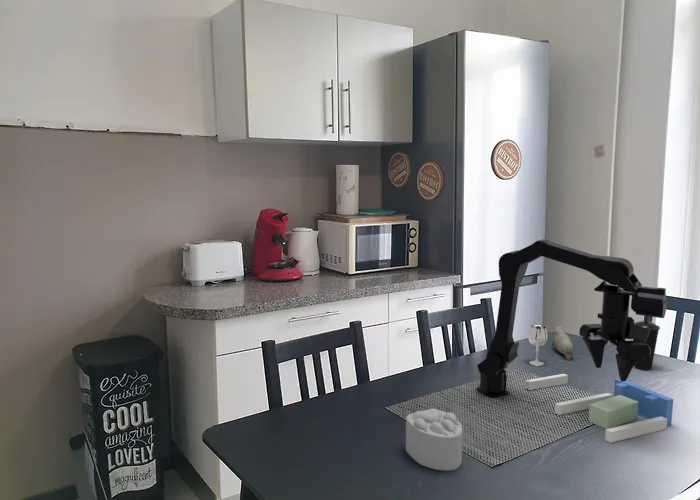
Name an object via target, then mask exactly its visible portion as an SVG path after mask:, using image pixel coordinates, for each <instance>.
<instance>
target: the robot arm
mask: <svg viewBox="0 0 700 500" xmlns="http://www.w3.org/2000/svg"><path fill="white" fill-rule="evenodd" d="M541 257H544V258H547V259H549V260H553V261H555V262H559V263H562V264H565V265H569V266H572V267H574V268H578V269H581V270H584V271H587V272H589V273H591V274H592V275H593V276H595V277H596V278H598V279H600V280H602V281H601V282H600V284H598V285H597V286H596V287H594V289H593V290H594V292H598V293H599V292H600V293H602V306H601V312H600V313H597V318H598V319H600V321H601V322H600V323H588V324H587V323H586V324H582V325H581V326H580V328H579V332H578V334H579V336H580V337H582V338H581V339H582V340H583V341H584V343H585V345H586V347H587V350H588V352H589V354H590V355H591V359H592V362H593V363H594V365H595V368H597V369H599V368H602V364H603V358H604V354H605V348H606V347H605V346H606V345H607V344H608V343H610V344H612V345H614V346H616V352H617V353H615V359H616V366H617V371H618V377H619V378H620V380H621V381H622V382H624V381H626V380H627V381H628V378H629V375H630V374H631V372H632V369H633V368H634V365H635V363H636V362H637V361H638V360H640V359H645V358H646V357H650V353H651V348H650V347H649V346H648V344H645V343H643V342H640V341H638V340H633V337H635V338H638V339H641V340H642V341H644V342H646V340H647V338H648V335H649V333H650V330H649V329H647V328H644V327H642V326H639V325H636V324H634V323H635V319H633V316H629V311H630V309H631V310H632V311H633V312H635V315H636V316H644V317H645V316H648V317H651V318H658V319H659V318H660V319H665V317H666V311H667V306H668V301H667V295H666V294H667V291H666V290H667V288H666V287H649V286H643V284H642V283H641V281H640V280H639V278H638V276H636V275H635V273H634V270H635V269H634V266H633V264H632V262H631V261H630V260H628V259H626V258H624V257H616V256H608V255H607V256H606V255H598V254H597V255H596V254H592V253H589V252H585V251H582V250H579V249H575V248H572V247H569V246H565V245H562V244H559V243H556V242H553V241H550V240H549V239H544V238H542V239H539V240H536V241H534V242H533V243H532V244H530V245H527V246H526V247H524V248H522V249H520V250H513V251H510V252H505V253H503V254H502V255H501V256H500V257H499V260H498V276H499V279H500V282H501V289H500V296H499V304H498V310H497V311H498V312H497V319H496V325H495V331H494V336H493V338H492V341H491V342H490V344H489V346H488V350H487V353H486V355H485V359H483V360H482V361H481V362H480V363H478V364H477V369H478V373H480V380H479V386H477V387H476V390H477V391H479V392H480V393H482V394H484V395H485V394H486V396H487V397H490V398H494V397H500V396H504V395H509V394H510V392H509V390H507V384H508V383H507V379H508V378H507V377H508V375H507V370H506V369H507V368H508V366H509V365H511V363H513V362H514V361H515V360H516V359H517V357H518V356H519V355H518V349H519V345H520V342H519V341H517V342H516V341H515V340H514V336H513V334H514V326H515V320H516V314H517V313H516V312H517V306H518V305H517V304H518V297H519V291H520V285H521V283H522V281H523V279H524V277H525V275H526V273H527V269H528V266H529V263H532V262H534V261H536V260H537V259H539V258H541ZM630 300H631V301H630ZM627 339H628V340H627Z"/></svg>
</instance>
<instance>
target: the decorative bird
mask: <svg viewBox="0 0 700 500" xmlns="http://www.w3.org/2000/svg"><path fill="white" fill-rule="evenodd" d="M555 331H556V332H555V333H554V336H553V342H552V344H551V346H553V347H554V348H555V349H556V350H557V352H559V353H561V354H563V355H564V357H565V359H566V360H567V361H570V360H571V359H572V356H573V353H574V346H573V343H572V339H571V336H570V334H568V333H566V332H565V329H564V328H563V327H562V326H560V325H557V326H556V327H555Z"/></svg>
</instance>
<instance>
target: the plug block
mask: <svg viewBox="0 0 700 500" xmlns="http://www.w3.org/2000/svg"><path fill="white" fill-rule="evenodd" d="M638 405H639V402H638V401H635V400H633V399H630V398H627V397H624V396H622V395H618V396H615V397H614V396H613V397H611V398H608V399H605V400H602V401H599V402H596V403H593V404H590V406H589V409H588V422H589V421H590V423H591V424H594V425H597V426H599V427H602V428H604V429H605V430H606V429H610V428H614V427H618V426H621V425H624V424H625V423H629V422H631V421H634V420H636V419H638V416H639V414H638Z"/></svg>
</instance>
